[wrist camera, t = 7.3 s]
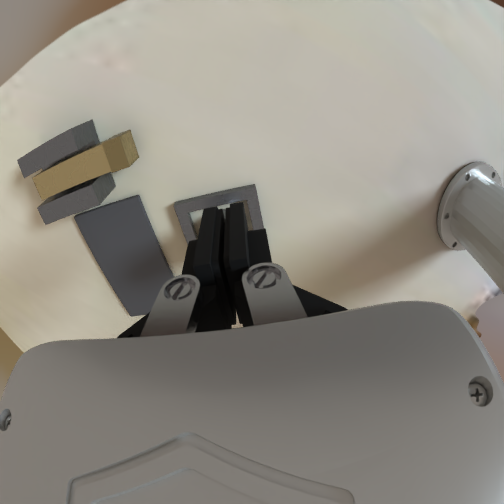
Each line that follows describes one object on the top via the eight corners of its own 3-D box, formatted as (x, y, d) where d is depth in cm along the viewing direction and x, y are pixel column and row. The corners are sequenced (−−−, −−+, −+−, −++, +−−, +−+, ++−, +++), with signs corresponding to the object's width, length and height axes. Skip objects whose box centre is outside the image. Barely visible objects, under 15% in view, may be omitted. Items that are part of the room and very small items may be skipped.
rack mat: (138, 194, 25) (137, 196, 24) (187, 305, 33) (187, 308, 33) (75, 215, 25) (73, 217, 25) (131, 313, 34) (130, 316, 33)
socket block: (92, 119, 20) (70, 128, 16) (115, 186, 24) (99, 204, 21) (40, 147, 20) (17, 160, 17) (63, 205, 24) (45, 224, 21)
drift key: (130, 129, 20) (118, 136, 18) (139, 157, 21) (129, 166, 19) (45, 167, 20) (31, 177, 18) (55, 190, 22) (41, 201, 20)
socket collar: (254, 184, 25) (255, 187, 24) (268, 251, 29) (269, 255, 29) (175, 202, 25) (173, 205, 25) (198, 264, 30) (197, 269, 29)
